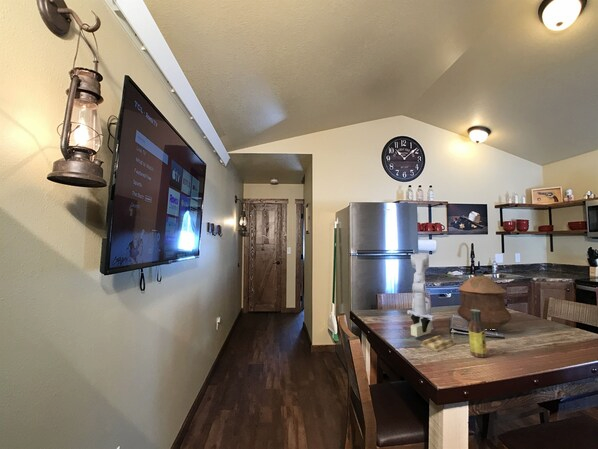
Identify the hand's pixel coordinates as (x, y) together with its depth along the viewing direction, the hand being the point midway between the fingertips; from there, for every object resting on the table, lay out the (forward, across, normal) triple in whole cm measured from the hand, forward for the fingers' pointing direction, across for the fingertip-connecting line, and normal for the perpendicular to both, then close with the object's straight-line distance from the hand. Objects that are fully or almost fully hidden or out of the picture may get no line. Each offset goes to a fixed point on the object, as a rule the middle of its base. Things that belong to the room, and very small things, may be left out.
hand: (421, 330), depth 137 cm
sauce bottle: (+4, +26, +3) cm, 27 cm away
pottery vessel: (+4, +11, +43) cm, 45 cm away
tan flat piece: (+4, +10, -2) cm, 11 cm away
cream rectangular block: (+2, 0, 0) cm, 2 cm away
